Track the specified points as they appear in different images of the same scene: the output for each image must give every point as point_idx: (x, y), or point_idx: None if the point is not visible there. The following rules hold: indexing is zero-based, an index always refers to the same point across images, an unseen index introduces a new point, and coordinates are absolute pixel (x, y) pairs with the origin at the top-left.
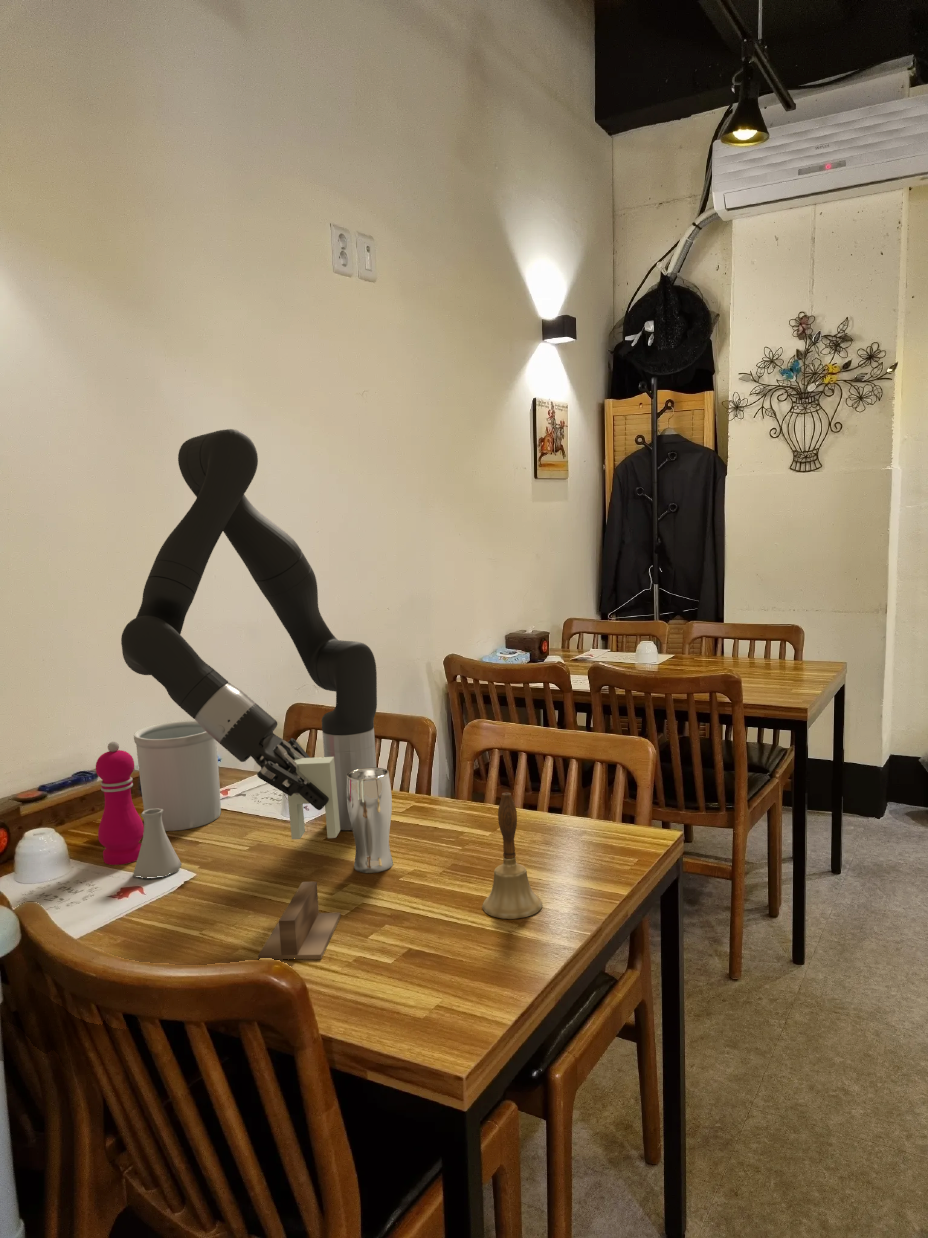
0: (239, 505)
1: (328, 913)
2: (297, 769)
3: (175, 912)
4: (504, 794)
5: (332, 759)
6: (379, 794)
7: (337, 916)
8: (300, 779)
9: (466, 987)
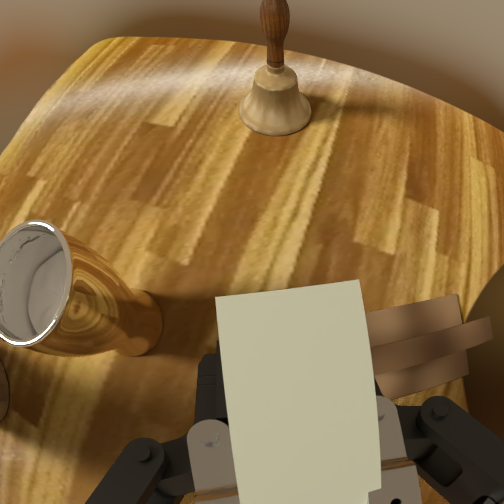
0: None
1: None
2: (396, 463)
3: None
4: None
5: (269, 291)
6: (90, 250)
7: None
8: (435, 410)
9: (448, 139)
